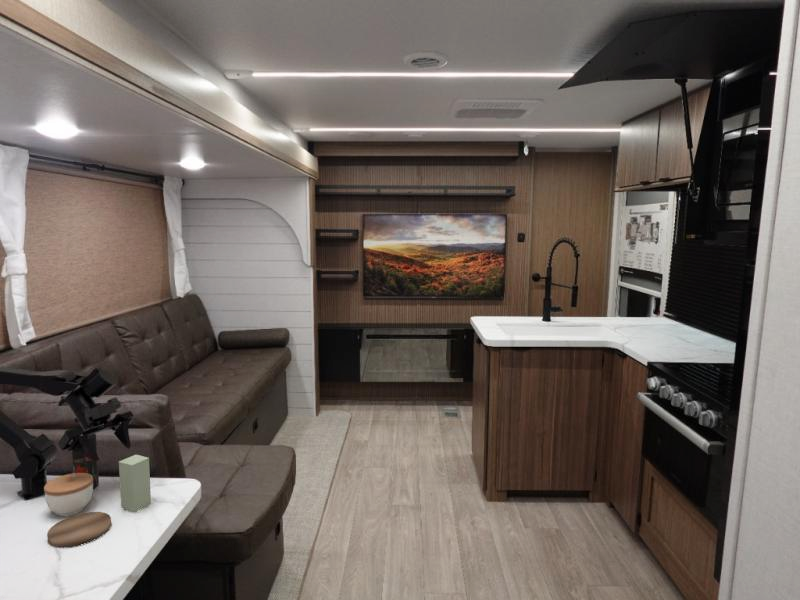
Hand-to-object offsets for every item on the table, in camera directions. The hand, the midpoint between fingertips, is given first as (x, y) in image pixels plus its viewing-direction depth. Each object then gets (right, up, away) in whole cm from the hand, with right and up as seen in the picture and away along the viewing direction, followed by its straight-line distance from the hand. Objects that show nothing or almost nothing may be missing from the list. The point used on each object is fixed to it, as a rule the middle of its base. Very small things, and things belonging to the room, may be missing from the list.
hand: (114, 453), depth 135 cm
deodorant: (-13, -12, +8) cm, 20 cm away
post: (+7, -13, -2) cm, 15 cm away
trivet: (0, -15, -14) cm, 20 cm away
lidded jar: (-9, -14, -4) cm, 17 cm away
